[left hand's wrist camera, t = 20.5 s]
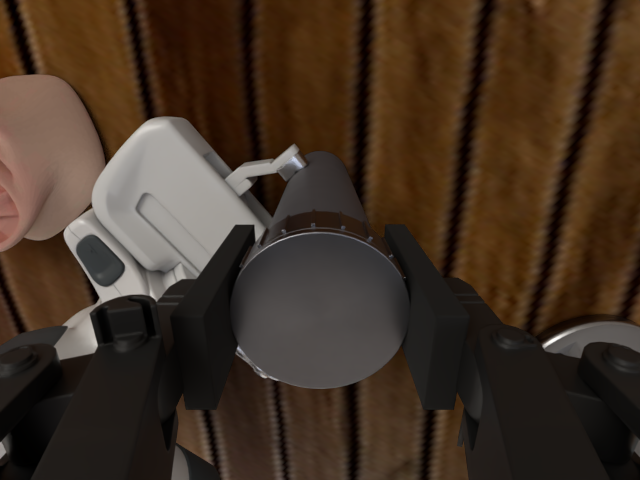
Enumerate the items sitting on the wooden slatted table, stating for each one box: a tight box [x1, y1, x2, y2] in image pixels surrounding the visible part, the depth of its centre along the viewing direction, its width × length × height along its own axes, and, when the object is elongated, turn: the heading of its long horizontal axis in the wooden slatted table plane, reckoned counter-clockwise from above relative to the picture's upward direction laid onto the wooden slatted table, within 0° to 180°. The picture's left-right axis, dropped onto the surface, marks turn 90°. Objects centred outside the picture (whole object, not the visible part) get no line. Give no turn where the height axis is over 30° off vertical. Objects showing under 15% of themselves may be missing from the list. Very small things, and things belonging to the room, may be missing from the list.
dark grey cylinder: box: [269, 151, 371, 228], centre depth 20 cm, size 5×5×20 cm
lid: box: [229, 209, 411, 389], centre depth 11 cm, size 5×5×2 cm
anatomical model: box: [0, 75, 106, 252], centre depth 27 cm, size 13×4×12 cm
